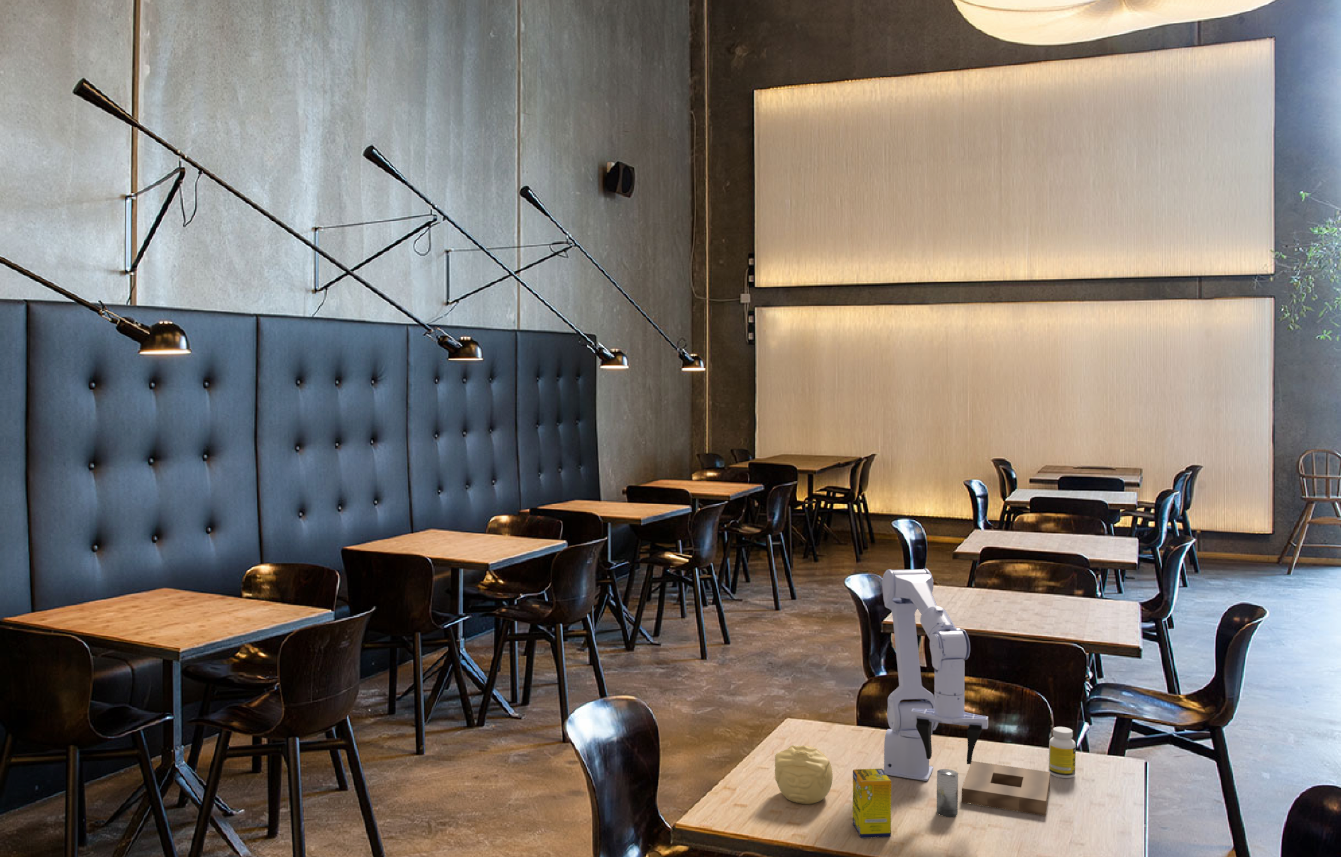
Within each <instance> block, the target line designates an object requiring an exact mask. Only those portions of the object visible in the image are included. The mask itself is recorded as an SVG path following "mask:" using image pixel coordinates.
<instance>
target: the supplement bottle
mask: <svg viewBox="0 0 1341 857" xmlns="http://www.w3.org/2000/svg"><path fill="white" fill-rule="evenodd" d="M1073 731H1074V730H1073V729H1071V728H1070V727H1065V726H1056V727H1055V726H1054V727H1053V728H1052V735H1053V736H1052V737H1051V738H1050V739H1049V741H1048V742H1049V744H1048V772H1050V776H1051V775H1052V777H1053V776H1054V777H1055V776H1056V778H1059V779H1071V778H1074V777H1075V775H1076V757H1077V756H1076V752H1077V750H1076V749H1077V745H1076V741H1075V740H1074V739H1073Z"/></svg>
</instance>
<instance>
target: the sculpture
mask: <svg viewBox="0 0 1341 857" xmlns="http://www.w3.org/2000/svg"><path fill="white" fill-rule="evenodd" d="M774 768H775V769H774V777H775V782H776V784H777V786H778V788H779V791H780V793H781V794H782V796H783V797H784V798H785V799H787V800H788V801H791V802H793V803H797V804H803V805H811V804H817V803H819V802H821V801H822V800H824V799H825V798H826V797H827V795H828V794H829V792H830V790H831V788H832V785H833V784H832V783H833V776H834V775H833V768H832V764H831V761H830V759H829V758H828V757H827V755H826V754H825V753H823V752H822V751H821V750H820V749H818V748H817V747H814V746H810V745H794V744H792V745H790V746H789V747H788V748H786V749H784V750H781V751H779V752H777V753H776V754H775V756H774Z"/></svg>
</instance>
